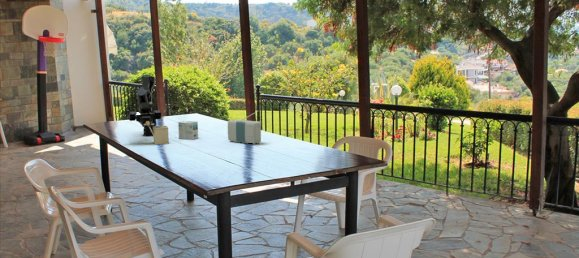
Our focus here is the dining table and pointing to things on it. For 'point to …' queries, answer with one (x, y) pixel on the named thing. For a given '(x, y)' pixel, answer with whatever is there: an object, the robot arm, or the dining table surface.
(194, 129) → the light bulb box
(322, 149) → the dining table surface
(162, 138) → the kraft carton
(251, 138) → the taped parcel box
